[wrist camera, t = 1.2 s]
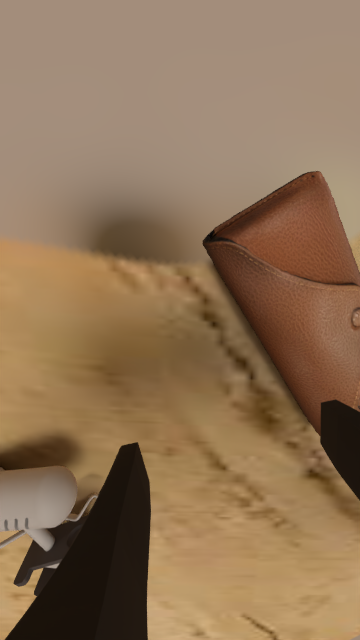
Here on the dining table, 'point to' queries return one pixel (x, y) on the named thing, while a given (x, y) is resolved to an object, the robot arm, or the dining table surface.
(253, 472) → the dining table surface
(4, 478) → the clip-on lamp
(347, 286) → the sunglasses case
